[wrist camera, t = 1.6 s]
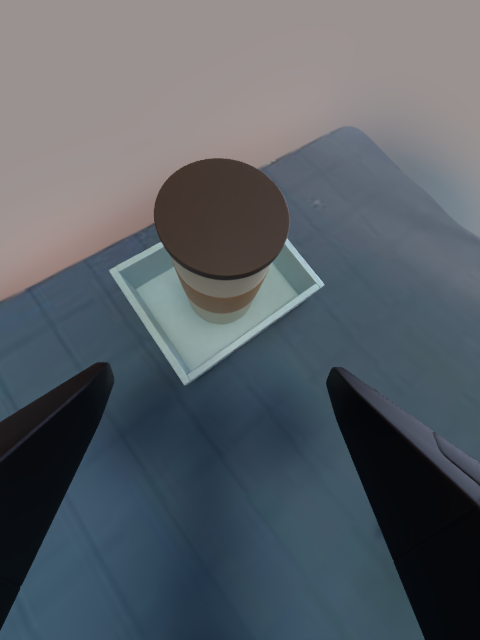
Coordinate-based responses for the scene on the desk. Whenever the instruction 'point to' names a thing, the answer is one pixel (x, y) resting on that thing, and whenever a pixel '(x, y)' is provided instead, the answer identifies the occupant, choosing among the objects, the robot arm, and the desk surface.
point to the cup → (221, 233)
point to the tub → (191, 330)
